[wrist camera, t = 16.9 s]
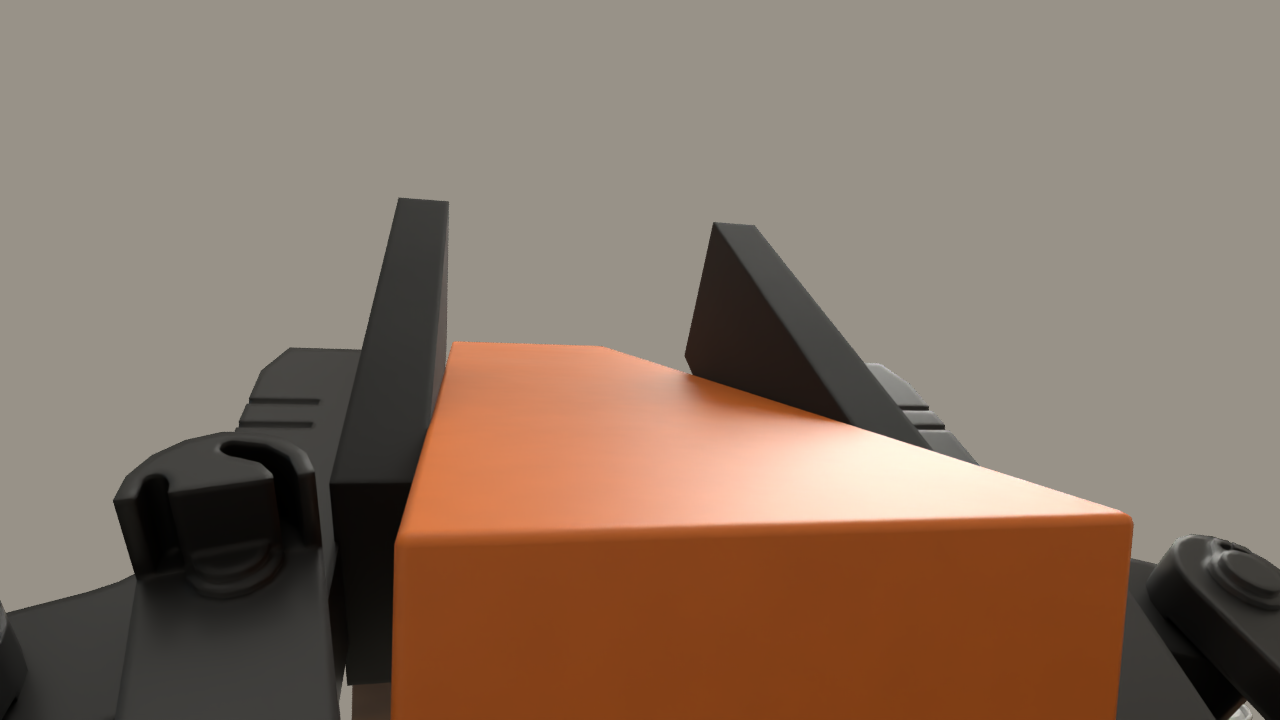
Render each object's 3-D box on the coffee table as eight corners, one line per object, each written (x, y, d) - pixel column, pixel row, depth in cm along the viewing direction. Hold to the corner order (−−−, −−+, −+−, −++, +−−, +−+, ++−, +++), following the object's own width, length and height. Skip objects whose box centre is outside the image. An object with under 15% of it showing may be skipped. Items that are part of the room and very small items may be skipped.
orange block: (1105, 896, 5) (1141, 513, 5) (381, 1026, 4) (393, 535, 4) (600, 428, 22) (603, 346, 22) (449, 428, 21) (452, 341, 21)
